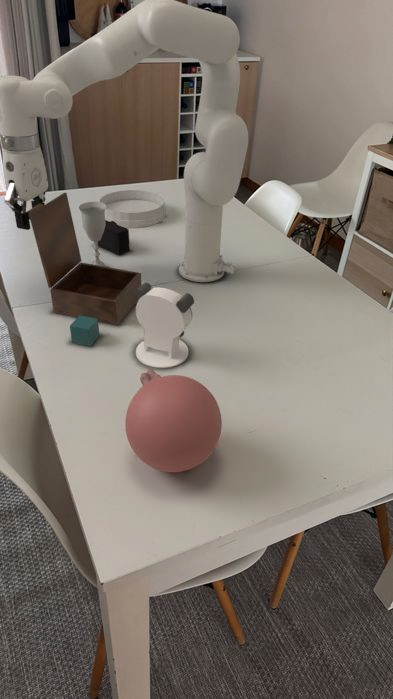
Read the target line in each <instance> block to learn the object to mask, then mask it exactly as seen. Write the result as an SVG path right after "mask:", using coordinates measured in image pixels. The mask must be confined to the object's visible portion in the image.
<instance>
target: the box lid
mask: <svg viewBox="0 0 393 699" xmlns="http://www.w3.org/2000/svg"><path fill="white" fill-rule="evenodd" d="M26 212H28V215H29V222H30V225H31V228H32V232H33V236H34V239H35V242H36V247H37V250H38V254H39V258H40V262H41V265H42V268H43V272H44V276H45V280H46V283H47V287H48V289H51V288H53V287H54V286H55V285H56V284H57V283H58V282H59V281H60V280H62V279H63V278H64V277H65V276H66V275H67V274H68V273H69V272H71V271H72V270H73V269H74V268H75V267H76V266H77V265H78V264H79V263H82V256H81V252H80V248H79V244H78V237H77V234H76V230H75V224H74V220H73V216H72V210H71V206H70V202H69V198H68V193H67V192H63V193H61V194H59V195H58V196H56V197H54V198H53V199H51V200H50V201H49V202H47V203H45V205H43V204H42V203H40V204H38V205H37V206H35V207H33V208H32V207H31V208H30V209H29V210H26Z"/></svg>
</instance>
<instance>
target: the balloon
mask: <svg viewBox="0 0 393 699" xmlns="http://www.w3.org/2000/svg"><path fill="white" fill-rule="evenodd" d="M139 380H140V382H141V384H142V386H141V387H139V389H138V391H137V392H135V394H134V395H133V397H132V399H131V400H130V402H129V404H128V407H127V410H126V414H125V422H124V424H125V427H124V428H125V435H126V438H127V441H128V444H129V446H130V448H131V449H132V451H133V453H134V454H135V456H136V457H138V458H139V460H140V461H141V462H142V463H144V464H146V465H147V466H149V467H151V468H152V469H155V470H157V471H161V472H164V473H182V472H186V471H189V470H192V469H194V468H196V467H198V466H200V465H202V464H203V463H204V462H205V461H206V460H207V459H208V458H209V457H210V456H211V455H212V453H213V452H214V451H215V449H216V448H217V445H218V444H219V440H220V438H221V433H222V427H223V426H222V425H223V423H222V421H223V420H222V414H221V409H220V407H219V406H220V405H219V404H218V402H217V400H216V398H215V396H214V395H213V393H212V392H211V391H210V390H209V389H208V388H207V387H206V386H205V385H204V384H202V383H201V382H200V381H198V380H196V379H194V378H191V377H188V376H185V375H179V374H170V375H169V374H168V375H163V376H161V375H160V374H158V373H156V372H155V369H153V368H148V369H147V372H142V373H141V374H140V378H139Z"/></svg>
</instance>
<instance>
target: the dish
mask: <svg viewBox="0 0 393 699" xmlns="http://www.w3.org/2000/svg"><path fill="white" fill-rule="evenodd" d="M99 202H101V203H104V204H105V205H106V208H105V220H107V221H109V222H110V221H114V222H116V223H117V225H119V226H122V227H124V228H127V229H136V228H137V229H139V228H146V227H150V226H154V225H157V224H159V223H161V222H162V221H164V220H165V217H166V208H165V198H164V197H163V196H162V195H160V194H157V193H155V192H152V191H147V190H138V189H127V190H118V191H113V192H110V193H107V194H104V195H103V196H101V197H100V199H99Z"/></svg>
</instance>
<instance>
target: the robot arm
mask: <svg viewBox="0 0 393 699" xmlns="http://www.w3.org/2000/svg"><path fill="white" fill-rule="evenodd" d="M240 43H241V36H240V31H239V28H238V26H237V24H236V23H235V22H234V21H233V19H232V18H230V17H228V16H226V15H225V14H220V13H217V12H213V11H210V10H206V9H203V8H200V7H195V6H193V5H189V4H187V3H184V2H183V3H182V2H181V1H177V0H143V1H141V2H139V3H138V4H137V5H135V6H134V7H132V8H131V9H130V10H128V11H126V12H125V13H124V14H123V15H121V16H120V17H118V18H117V19H116V20H114V21H113V22H112V23H110V24H109V25H108V26H106V27H105V28H103V29H102V30H101V31H98V33H96V34H94V35H93V36H91V37H90V38H88V39H86V40H84V41H83V42H82V43H80V44H79V45H77V46H75V47H74V48H72V49H71V50H69V51H67V52H66V53H63V55H61V56H60V57H58V58H57V59H55V60H54V61H53V62H51V63H50V64H48V65H47V66H45V67H44V68H43V69H41V70H40V71H39V72H37V73H36V75H35V76H34V77H33V79H31V80H30V79H28V78H26V77H25V76H21V75H8V74H7V75H0V142H1V149H2V169H3V178H4V185H5V190H6V194H5V198H4V204H5V205H6V206H8V207H9V209H11V211H12V213H14V219H15V225H16V228H17V229H19V230H25V231H30V230H31V221H30V220H29V215H28V212H27V202H29V201H31V202H30V203H31V209H32V208H33V207H35V206H37V205H38V204H40V203H42V204H43V205H45V204H46V203H45V202H46V194H47V193H46V192H47V190H48V189H49V180H48V173H47V167H46V163H45V159H44V154H43V151H42V149H41V146H40V145H39V136H38V128H37V122H36V121H37V120H36V117H37V118H44V119H52V120H53V119H54V120H55V119H56V120H57V119H61V118H65V117H66V116H67V115H68V114H69V113H70V112H71V110H72V108H73V104H74V99H73V96H75V95H77V94H78V93H79V92H81V91H83V90H84V89H86V88H87V87H89V86H91V85H93V84H96V83H99V82H102V81H108V80H112V79H113V80H114V79H116V78H119V77H120V76H122V75H124V74H125V73H127V72H128V71H130V70H131V69H132V68H133V67H134V66H135V67H136V65H138V64H139V63H140V62H142V61H143V60H145V59H146V58H148V57H149V56H151V55H152V54H153V53H155V52H156V51H157V50H163V51H166V52H168V53H171V54H176V55H179V56H183V57H186V58H189V59H194V60H197V61H198V62H199V65H200V68H201V75H202V77H201V80H202V81H201V90H200V97H199V103H198V109H197V115H196V121H195V127H194V133H195V137H196V139H197V141H198V142H199V143H200V144H201V145H202V146H203V147H204V148H205V149H206V151H200V152H195V153H194V154H193V155H191V156H190V157H189V159H188V160H187V161H186V164H185V166H184V170H183V185H184V196H185V222H184V225H185V226H184V227H185V228H184V261H183V262H181V263H180V265H178V273H179V275H180V276H181V277H182V278H184V279H186V280H188V281H191V282H196V283H211V282H215V281H218V280H219V279H221V278H222V277H223V276H224V275H225V273H227V274H234V273H235V266H234V265H233V263H232V262H230V261H224V260H223V255H221V243H222V242H221V241H222V228H223V227H222V226H223V211H224V210H223V209H224V208H223V207H224V206H226V205H227V204H229V203H230V202H232V200H233V199H234V198H235V196H236V195H237V192H238V190H239V186H240V184H241V180H242V179H241V178H242V175H243V170H244V165H245V161H246V156H247V153H248V152H247V151H248V146H249V131H248V127H247V124H246V122H245V121H244V119H243V118H242V117H241V116H240V115H238V114H237V105H238V100H239V92H240V86H241V67H240V62H239V57H238V54H237V53H238V50H239V47H240ZM19 201H20V204H19Z"/></svg>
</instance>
